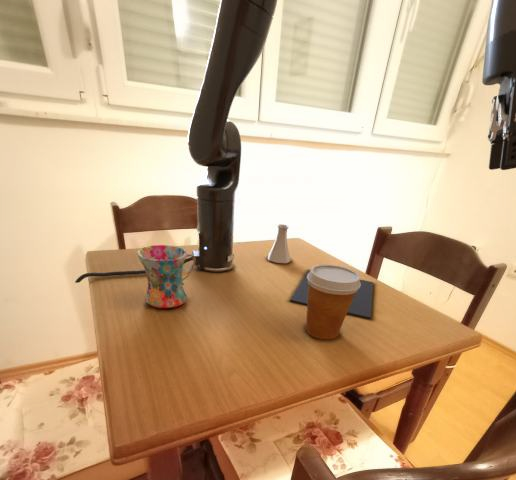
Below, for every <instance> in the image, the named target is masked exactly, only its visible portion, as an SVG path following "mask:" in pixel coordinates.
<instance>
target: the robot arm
mask: <svg viewBox="0 0 516 480" xmlns="http://www.w3.org/2000/svg"><path fill="white" fill-rule="evenodd" d="M277 5H278V0H220V4H219V8H218V12H217V18H216V25H215V29H214V33H213V38H212V42H211V47H210V51H209V55H208V60H207V64H206V69H205V73H204V77H203V81H202V84H201V87H200V91H199V94H198V98H197V101H196V104H195V108H194V111H193V113H192V114H193V115H192V117H191V121H190V125H189V129H188V134H187V146H188V147H187V148H188V151H189V154H190V157H191V158H192V160H193V162H194V163H196V165H198V166H201V167H207V169H206V174H205V176H203V178H202V180H200V181H199V182H198V184H197V185H196V216H197V217H196V219H197V226H196V250H192V253H191V254H192V255H193V256H194V257H195V259H196V263H195V266H198V269H199V271H206V272H210V273H212V272H213V273H221V272H228V271H230V270H231V269H233V267H234V263H233V262H234V261H233V260H234V259H235V253H234V232H235V231H234V230H235V229H234V228H235V205H236V204H235V202H236V201H235V199H236V192H237V189H238V187H239V182H240V173H241V163H242V162H241V161H242V138H241V134H240V131H239V129H238V127H237V125H236V124H235V123H234V122H233V121H232V120H229V115H230V112H231V108H232V105H233V102H234V100H235V97H236V95H237V94H238V91H239V89H240V88H241V87H242V85H243V83H244V82H245V80H246V79H247V77H248V76H249V74H250V73H251V72H252V70H253V69H254V67H255V66H256V65H257V63H258V61H259V58H260V57H261V55H262V53H263V50H264V48H265V45H266V43H267V39H268V36H269V32H270V30H271V29H270V28H271V25H272V23H273V19H274V16H275V12H276V9H277ZM483 57H484V58H483V69H482V77H481V78H482V80H481V81H482V82H481V83H482V84H483V85H484V86H494V85H499V89H498V95H494V96H493V98H492V100H491V112H490V113H491V114H490V120H489V128H488V129H489V130H488V135H487V139H488V141H489V145H490V151H489V152H490V153H489V160H488V161H489V162H488V169H489V170H491V171H493V170H498V169H500V170H501V171H507V170H513V169H516V0H491V5H490V10H489V15H488V19H487V28H486V38H485V47H484V56H483ZM191 261H193V258H192V257H191V256H189V257H186V258H185V261H184V264H186V263H189V262H191ZM184 264H183V265H184ZM127 275H146V272H145V269H141V270H140V269H139V270H121V271H120V270H119V271H107V272H86V273H83V274H82V275H79V277H77V279H75V281H74V283H76V284H78V283H81V282H82V281H83V280H84V279H86V278H89V277H111V276H113V277H114V276H127Z"/></svg>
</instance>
